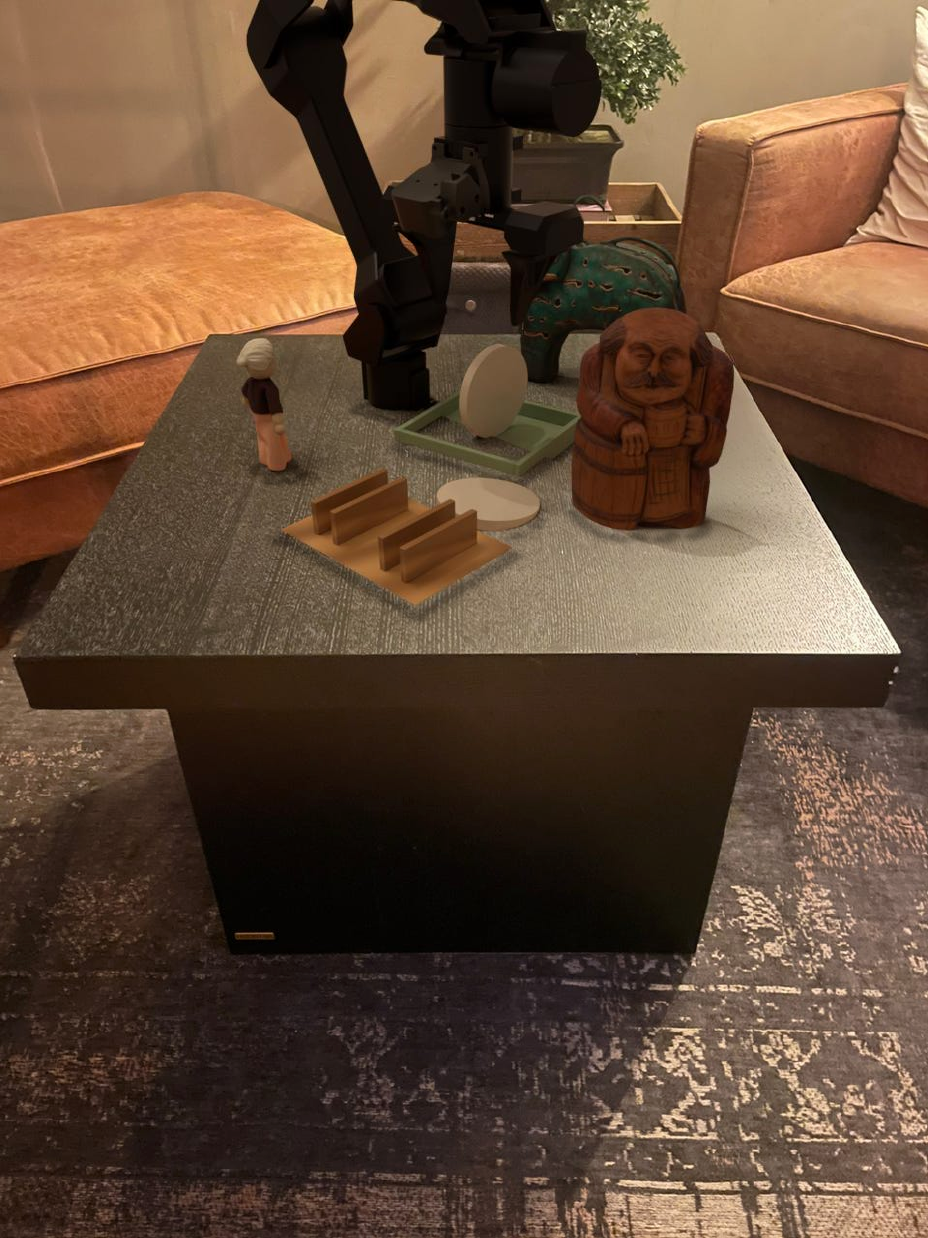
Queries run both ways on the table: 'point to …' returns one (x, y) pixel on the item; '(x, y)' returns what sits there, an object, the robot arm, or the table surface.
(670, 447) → the wooden figurine
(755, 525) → the table surface
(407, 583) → the plate rack
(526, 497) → the plate
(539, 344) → the ceramic cat
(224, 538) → the table surface
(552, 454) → the tray
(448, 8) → the robot arm
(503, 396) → the plate
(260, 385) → the grandmother figurine
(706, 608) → the table surface
